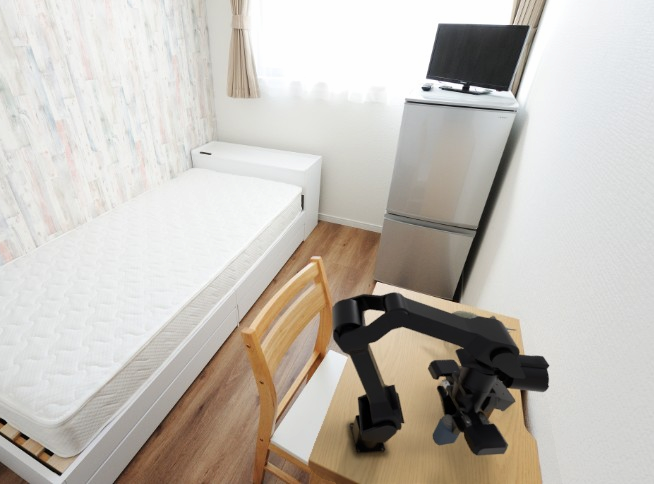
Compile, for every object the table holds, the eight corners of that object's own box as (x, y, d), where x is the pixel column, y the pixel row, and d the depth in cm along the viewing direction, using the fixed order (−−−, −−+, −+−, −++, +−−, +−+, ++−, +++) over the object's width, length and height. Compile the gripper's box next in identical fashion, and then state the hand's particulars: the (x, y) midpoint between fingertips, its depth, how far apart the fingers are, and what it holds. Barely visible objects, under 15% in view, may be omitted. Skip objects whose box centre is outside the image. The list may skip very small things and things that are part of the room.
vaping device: (457, 443, 75) (476, 411, 68) (435, 447, 74) (452, 415, 68) (450, 431, 77) (468, 399, 71) (429, 434, 76) (445, 402, 70)
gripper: (553, 425, 58) (516, 472, 65) (486, 339, 73) (463, 385, 81) (490, 429, 57) (460, 476, 64) (436, 340, 73) (418, 387, 80)
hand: (451, 426), depth 73 cm, fingers closed on vaping device, 2 cm apart
